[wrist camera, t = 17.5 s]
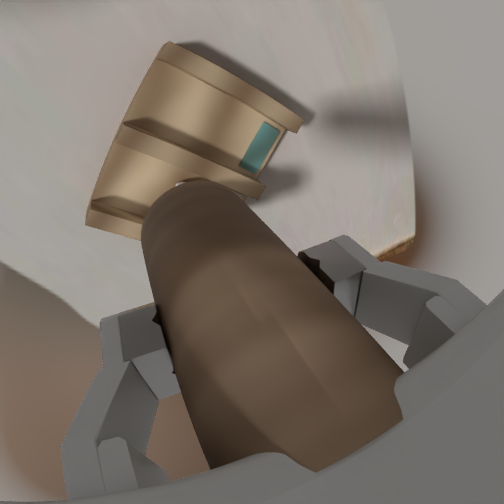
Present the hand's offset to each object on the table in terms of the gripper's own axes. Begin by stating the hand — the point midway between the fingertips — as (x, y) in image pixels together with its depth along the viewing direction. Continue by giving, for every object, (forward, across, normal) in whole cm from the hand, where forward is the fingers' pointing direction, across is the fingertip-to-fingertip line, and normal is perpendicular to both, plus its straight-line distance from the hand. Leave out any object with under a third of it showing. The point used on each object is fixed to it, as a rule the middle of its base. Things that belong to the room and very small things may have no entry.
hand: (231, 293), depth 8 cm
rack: (+21, -3, +3) cm, 22 cm away
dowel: (+4, 0, 0) cm, 4 cm away
